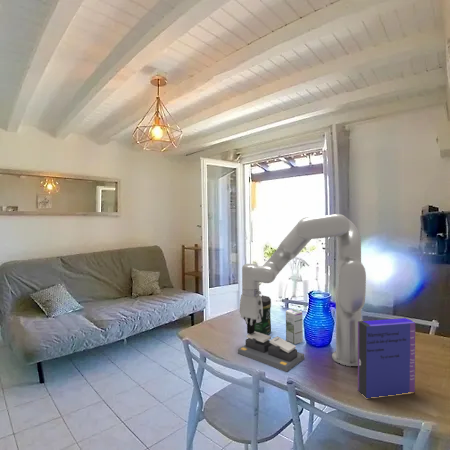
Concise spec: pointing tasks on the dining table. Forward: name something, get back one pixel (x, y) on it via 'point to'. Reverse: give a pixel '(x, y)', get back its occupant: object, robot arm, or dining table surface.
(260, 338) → the outer rocker
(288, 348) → the inner rocker
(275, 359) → the switch panel
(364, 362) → the blue upright rectangular block
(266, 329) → the coffee jar
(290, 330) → the syrup box
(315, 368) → the dining table surface
